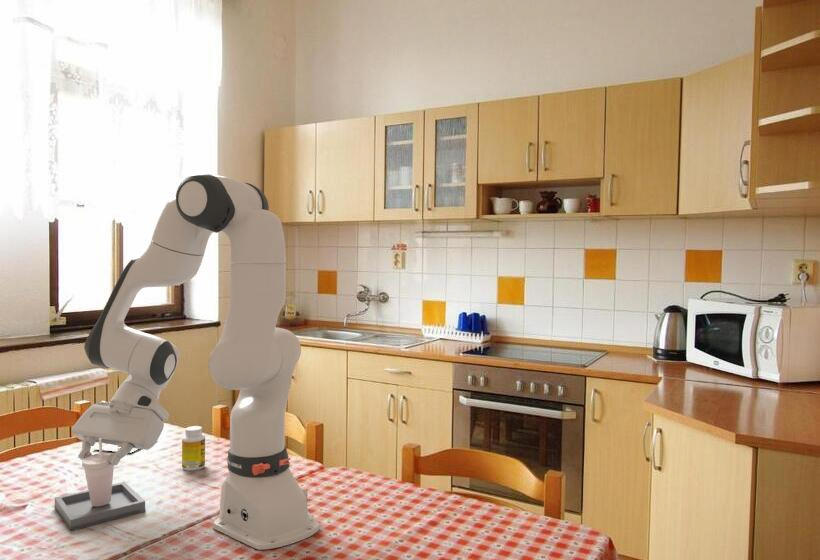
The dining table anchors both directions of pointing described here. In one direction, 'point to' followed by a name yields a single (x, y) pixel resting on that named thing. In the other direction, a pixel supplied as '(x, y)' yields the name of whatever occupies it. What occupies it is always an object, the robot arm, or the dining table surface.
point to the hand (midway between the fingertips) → (96, 461)
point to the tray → (98, 507)
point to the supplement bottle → (193, 449)
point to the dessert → (109, 450)
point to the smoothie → (99, 477)
